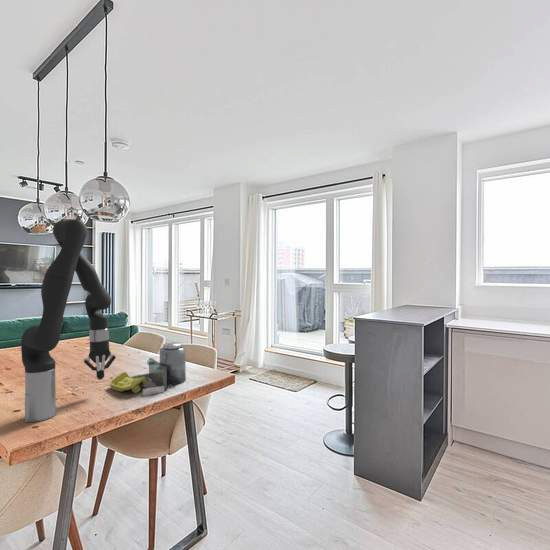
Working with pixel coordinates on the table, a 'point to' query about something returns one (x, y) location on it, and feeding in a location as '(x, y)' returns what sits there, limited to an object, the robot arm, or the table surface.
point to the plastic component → (127, 383)
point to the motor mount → (166, 368)
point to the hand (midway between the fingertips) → (100, 378)
